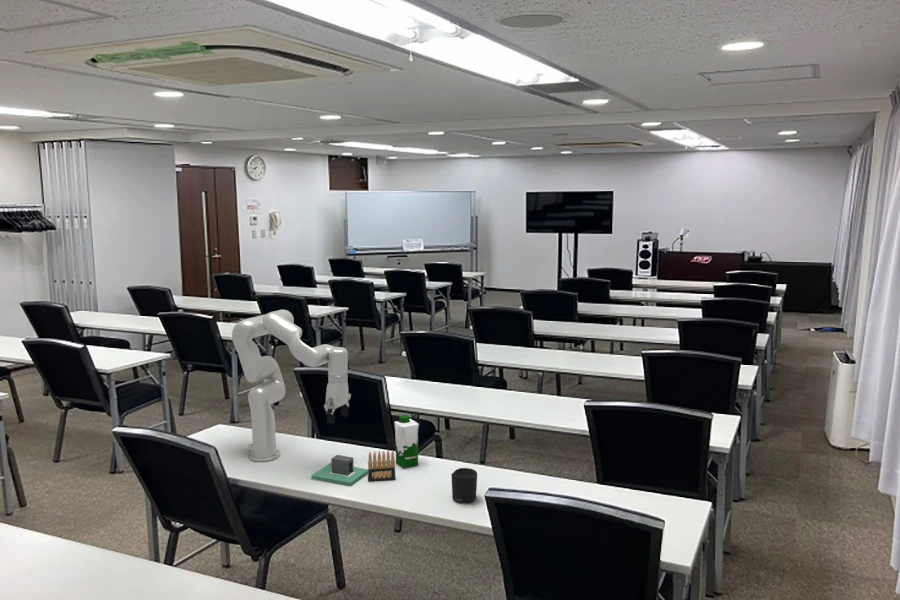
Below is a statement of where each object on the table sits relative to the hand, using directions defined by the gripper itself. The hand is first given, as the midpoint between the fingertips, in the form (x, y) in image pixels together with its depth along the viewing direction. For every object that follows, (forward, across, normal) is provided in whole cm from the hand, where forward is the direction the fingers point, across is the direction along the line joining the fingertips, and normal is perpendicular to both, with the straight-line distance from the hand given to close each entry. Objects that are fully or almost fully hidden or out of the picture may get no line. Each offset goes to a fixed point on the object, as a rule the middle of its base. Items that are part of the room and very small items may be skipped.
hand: (337, 419), depth 271 cm
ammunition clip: (+21, +2, +22) cm, 30 cm away
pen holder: (+19, +4, +58) cm, 61 cm away
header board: (+21, +5, +5) cm, 22 cm away
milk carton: (+20, -16, +23) cm, 35 cm away
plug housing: (+19, +5, +6) cm, 21 cm away
